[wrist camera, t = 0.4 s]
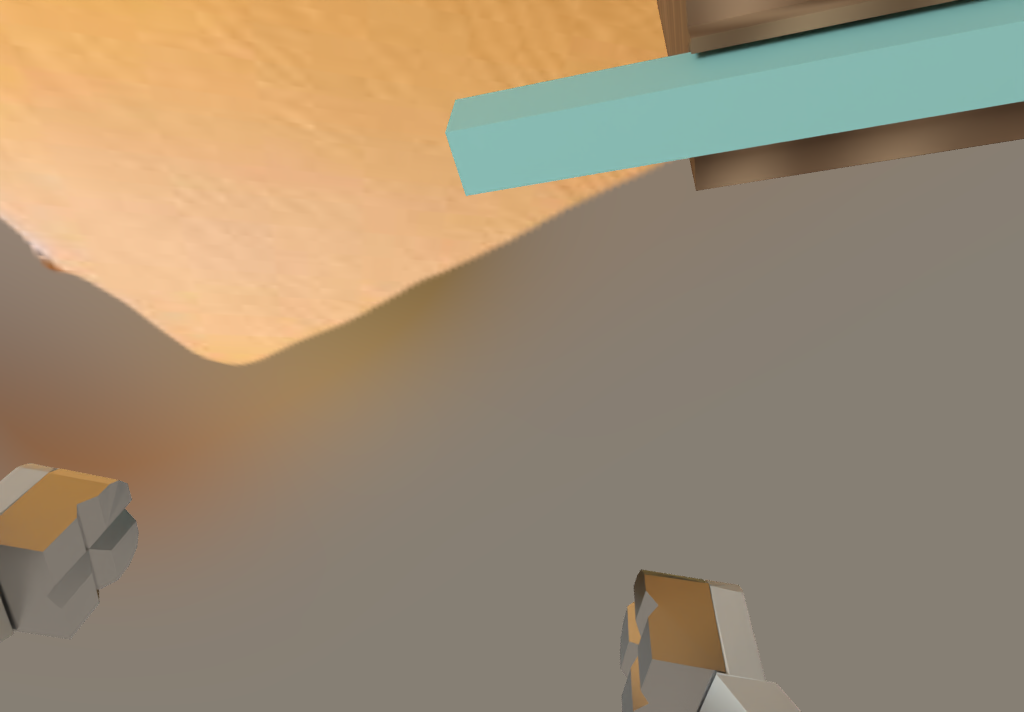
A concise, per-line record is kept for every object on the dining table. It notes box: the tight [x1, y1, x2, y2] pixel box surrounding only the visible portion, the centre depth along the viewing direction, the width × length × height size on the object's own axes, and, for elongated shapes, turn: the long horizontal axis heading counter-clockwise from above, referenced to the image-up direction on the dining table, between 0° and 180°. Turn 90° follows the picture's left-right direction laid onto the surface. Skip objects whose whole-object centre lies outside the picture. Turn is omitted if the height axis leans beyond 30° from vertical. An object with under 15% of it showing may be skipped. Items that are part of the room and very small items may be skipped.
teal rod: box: [445, 0, 1024, 196], centre depth 27 cm, size 24×3×3 cm, turn 104°
